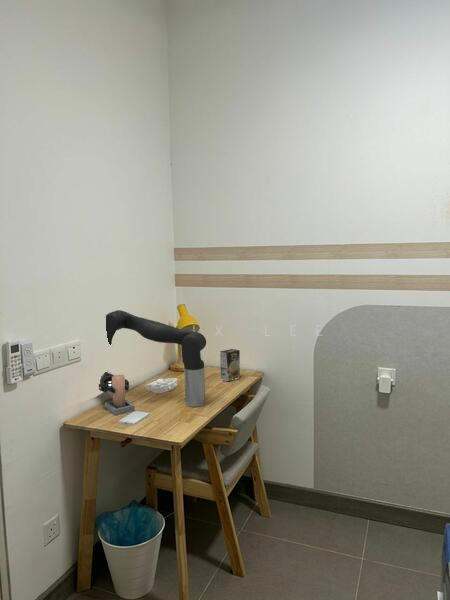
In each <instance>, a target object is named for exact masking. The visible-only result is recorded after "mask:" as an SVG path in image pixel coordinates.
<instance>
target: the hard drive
mask: <svg viewBox="0 0 450 600" xmlns="http://www.w3.org/2000/svg"><path fill="white" fill-rule="evenodd" d="M149 416H151V413H150V412H145V411H137V410H135V411H132V412H131V413H129V414H127V415H126V416H124V417H123V418H121V419H119V420H118V421H117V424H120V425H126V426H127V425H128V426H133V427H134V426H136V425H137V424H139V423H140V422H142V421H144V420H145V419H147V418H149Z"/></svg>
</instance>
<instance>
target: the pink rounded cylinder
mask: <svg viewBox="0 0 450 600" xmlns="http://www.w3.org/2000/svg"><path fill="white" fill-rule="evenodd" d="M125 379H126V377H125V375H124V374H114V376H112V387H113V388H115V393H112V401H113V407H115V408H116V409H117V408H122V407H126V400H127V399H126V398H127V397H126V390H125Z"/></svg>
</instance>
